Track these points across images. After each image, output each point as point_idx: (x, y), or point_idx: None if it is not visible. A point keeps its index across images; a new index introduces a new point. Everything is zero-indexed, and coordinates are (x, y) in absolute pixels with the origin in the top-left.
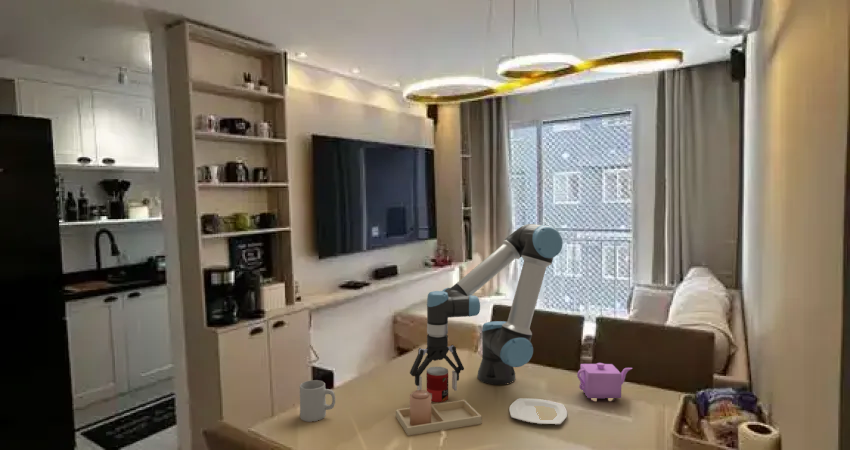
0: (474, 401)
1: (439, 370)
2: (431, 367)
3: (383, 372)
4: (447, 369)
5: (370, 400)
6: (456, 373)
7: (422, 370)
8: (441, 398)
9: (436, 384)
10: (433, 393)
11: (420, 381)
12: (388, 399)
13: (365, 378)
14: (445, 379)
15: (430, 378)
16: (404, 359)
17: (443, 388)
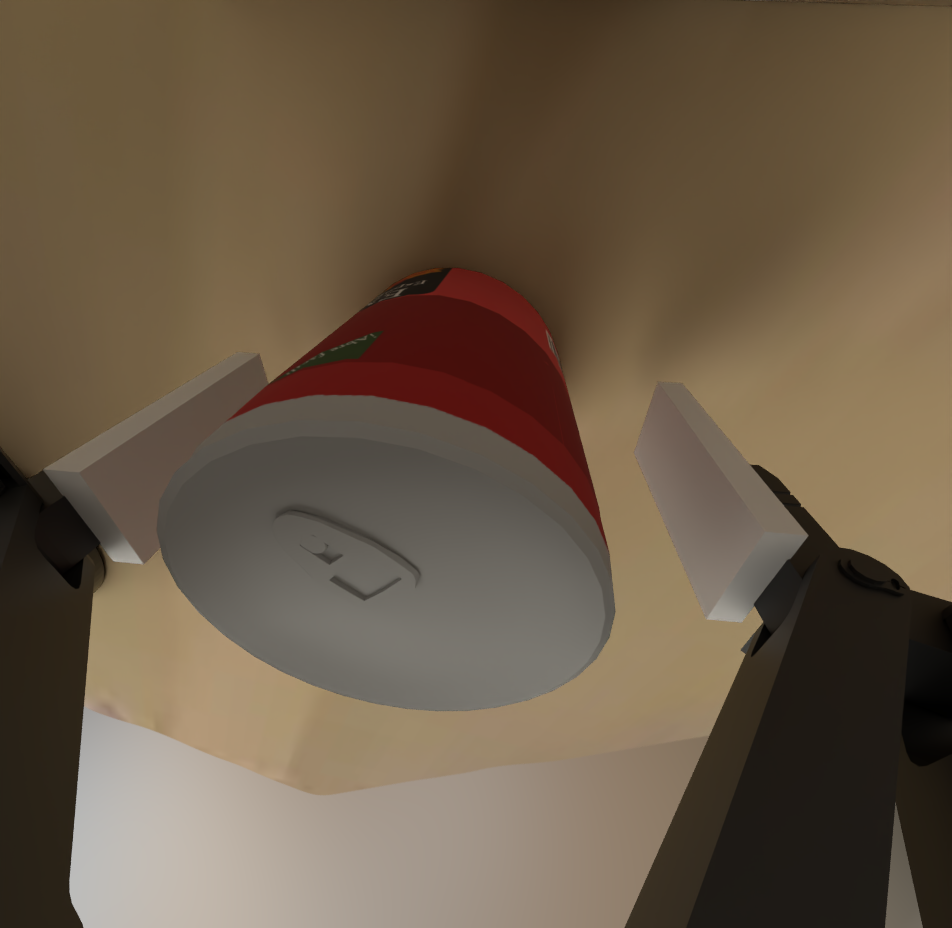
0: (94, 170)
1: (349, 599)
2: (452, 705)
3: (587, 734)
4: (172, 573)
5: (936, 542)
6: (54, 466)
7: (829, 673)
8: (451, 273)
9: (503, 348)
10: (537, 330)
11: (749, 484)
12: (814, 512)
13: (703, 725)
14: (306, 358)
15: (585, 475)
16: (444, 769)
17: (397, 303)
